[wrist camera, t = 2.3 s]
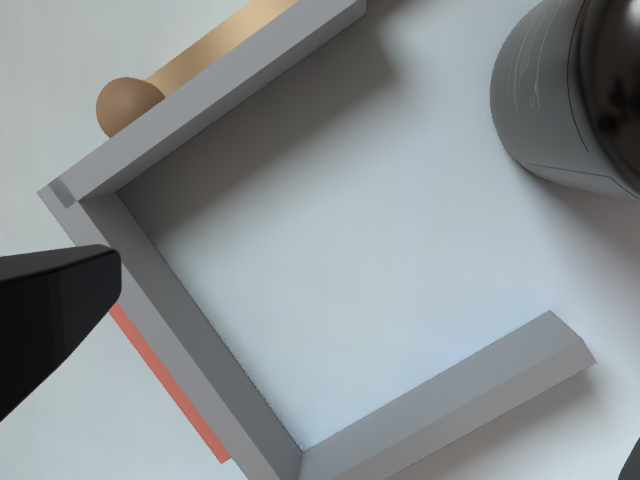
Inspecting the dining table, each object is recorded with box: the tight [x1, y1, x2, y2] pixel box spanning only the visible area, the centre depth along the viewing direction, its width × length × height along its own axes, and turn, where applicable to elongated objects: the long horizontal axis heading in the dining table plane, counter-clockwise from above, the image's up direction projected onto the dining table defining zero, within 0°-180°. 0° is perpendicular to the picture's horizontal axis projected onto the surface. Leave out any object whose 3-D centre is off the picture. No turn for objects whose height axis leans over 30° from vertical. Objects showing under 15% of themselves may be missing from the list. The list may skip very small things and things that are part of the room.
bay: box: [37, 0, 597, 480], centre depth 20 cm, size 13×15×3 cm
